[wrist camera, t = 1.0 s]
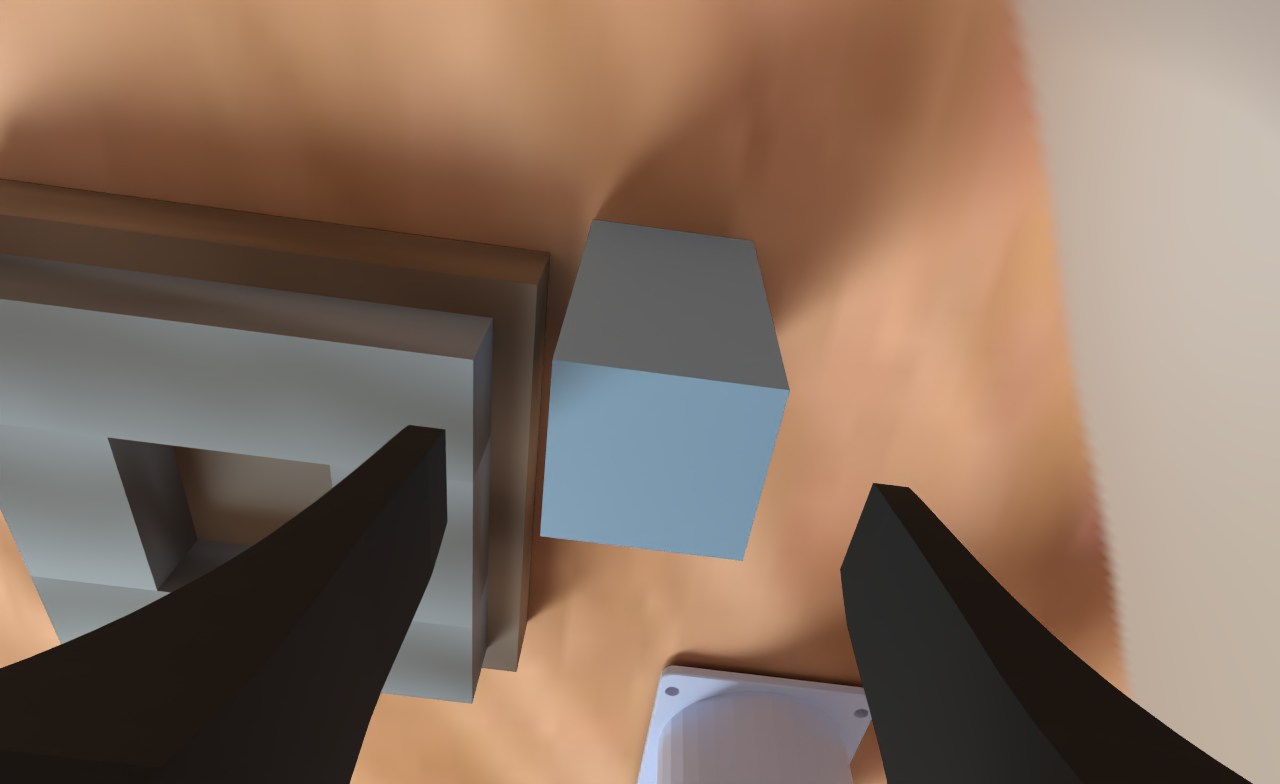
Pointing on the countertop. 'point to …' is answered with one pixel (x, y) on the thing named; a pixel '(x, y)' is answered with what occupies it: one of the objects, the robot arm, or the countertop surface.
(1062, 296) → the countertop surface
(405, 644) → the socket block
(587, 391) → the blue peg
